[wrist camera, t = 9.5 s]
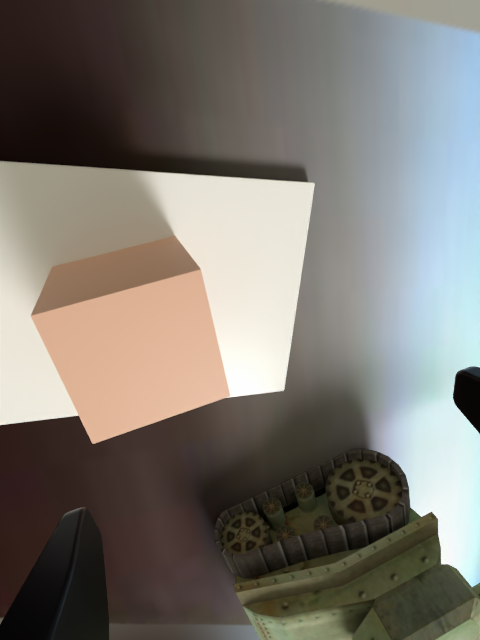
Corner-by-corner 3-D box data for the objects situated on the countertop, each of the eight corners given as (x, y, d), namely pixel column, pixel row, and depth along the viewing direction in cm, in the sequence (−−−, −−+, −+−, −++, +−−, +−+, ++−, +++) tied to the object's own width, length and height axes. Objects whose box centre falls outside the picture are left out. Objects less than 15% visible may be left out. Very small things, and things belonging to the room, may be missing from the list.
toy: (444, 489, 32) (568, 614, 24) (246, 592, 29) (304, 779, 21) (444, 402, 28) (599, 520, 19) (208, 516, 25) (262, 716, 16)
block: (175, 235, 16) (200, 269, 12) (200, 336, 18) (230, 395, 14) (52, 266, 15) (30, 315, 11) (96, 369, 17) (92, 444, 13)
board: (308, 182, 17) (314, 183, 17) (279, 384, 22) (284, 390, 21) (-126, 152, 12) (-136, 152, 12) (-52, 422, 17) (-57, 431, 16)
